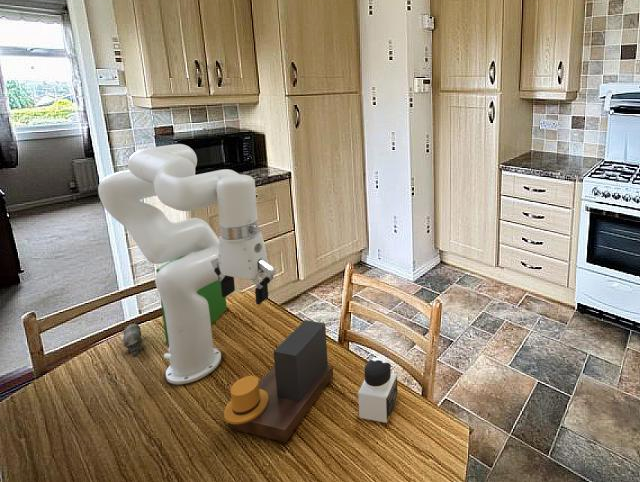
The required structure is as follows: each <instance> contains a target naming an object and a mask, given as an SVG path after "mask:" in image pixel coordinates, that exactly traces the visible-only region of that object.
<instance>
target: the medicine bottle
mask: <svg viewBox="0 0 640 482" xmlns="http://www.w3.org/2000/svg"><path fill="white" fill-rule="evenodd" d="M391 367H392V366H391V362H390V361H389V359H387V358H385V357H381V356H378V357H374V358H371V359H370V360H368V362H366V364H365V366H364V380H363V382H362V384H361V386H360V387H359V389H358V391H357V395H358V398H357V399H358V418H360V419H364V420H368V421H373V422H379V423H384V424H388V423H389V421H390V418H391V416H392V413H393V411H394V409H395V406H396V404H397V401H398V398H399V397H398V374H397V373H393V372H391V371H392V370H391V369H392V368H391Z"/></svg>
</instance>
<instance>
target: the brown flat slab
mask: <svg viewBox="0 0 640 482" xmlns="http://www.w3.org/2000/svg"><path fill="white" fill-rule="evenodd" d="M333 377H334V366H333V365H332V364H328V365H327V366H326V367H325V369H324V370H323V371H322V373H321V374H320V375H319V376H318V378H317V379H316V380H315V382H314V383H313V384H312V386H311V387H310V388H309V390H308V391H307V392H306V393H305V395H304V396H303V397H302V399H301V400H300V401H295V400H290V399H286V398H282V397H277V387H276V375H275V364H274V365H273V366H272V367H271V369H269V370H268V372H266V373H265V375H264V376H262V378H261V379H260V380H259V389H262V390H264V391H266V392H267V394H268V398H269V401H268V404H267V407H266V408H265V410H264V411H263V412H262V413H261V414H260V415H259V416H257V417H256V418H254V419H252V420H251V421H248V422H246V423H242V424H230V423H228V422H227V425H228V428H232V430H234V431H235V430H236V431H239V432H242V433H247V434H249V435H254V436H257V437H262V438H265V439H269V440H273V441H277V442H280V443H284V444H286V443H287V442H288V441H289V439H290V438H291V437H292V434H293V433H294V431H295V430H296V428H297V427H298V426H299V424H300V423H301V421H302V420H303V419H304V417H305V416H306V415H307V413H308V412H309V410H310V409H311V408H312V406H313V405H314V403H315V402H316V401H317V399H318V398H319V396H320V395H321V394H322V392H323V391H324V389H325V388H326V387H327V386H328V385H329V383H331V381H332V379H333Z"/></svg>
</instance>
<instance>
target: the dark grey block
mask: <svg viewBox="0 0 640 482" xmlns="http://www.w3.org/2000/svg"><path fill="white" fill-rule="evenodd" d="M327 345H328V344H327V331H326V323H324V322H319V321H314V320H307V319H304V320H303V321H302V322H301V323H300V324H299V325H298V326H297V327H296V328H295V329H294V330H293V331H292V332H291V333H290V334H289V335H288V336H287V337H286V338H285V339H284V340H283V341H282V342H281V343H280V344H279V345H278V346H277V347H276V348H275V349H274V350H273V361H274V362H273V363H274V365H275V375H276V387H277V397H282V398H286V399H290V400H295V401H300V400H301V399H302V397H303V396H304V395H305V393H306V392H307V391H308V390H309V388H310V387H311V386H312V384H313V383H314V382H315V380H316V379H317V378H318V376H319V375H320V374H321V373H322V371H323V370H324V369H325V367H326V366H327V365H329V364H328V363H329V362H328V361H329V360H328V348H327V347H328V346H327Z"/></svg>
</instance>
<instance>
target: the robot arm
mask: <svg viewBox="0 0 640 482" xmlns="http://www.w3.org/2000/svg"><path fill="white" fill-rule="evenodd" d="M197 164H198V157H197V154H196V152H195V151H194V149H193V148H191V147H190V146H189V145H186V144H183V143H176V144H175V143H174V144H168V145H160V146H153V147H145V148H143V149H138V150H137V151H136V152H134V153H133V154H131V155H130V157H129V159H128V161H127V168H128V169H127V170H123V171H119V172H114V173H112V174H110V175H107V176H106V177H104V178H103V179H102V180H100V182H99V184H98V188H97V192H98V193H97V194H98V197H99V199H100V202H101V204H102V206H103V208H104V209H105V210H106V211H107V213H108V214H109V215H110V216H111V217H112V218H113V219H115V220H116V221H117V222H118V223H120V224H121V226H123V227H124V228H125V229H126V230H127V231H128V233H129V235H130V236H131V238H132V240H133V241H134V242H135V244H136V246H137V247H138V249H139V250H140V251H141V253H142V255H143V256H144V257H145V259H146V260H147V261H149V263H151V264H154V265H159V264H166V263H167V262H169V261H171V260H173V259H176V258H179V257H181V256H184V255H186V254H189V253H192V252H195V253H193V254H190V255H188V256H185V257H183V258H180V259H178V260H175V261H173V262H171V263H169V264H167V265H165V266H164V267H162V268H161V269H160V270H159V271H158V273H157V272H156V274H155V277H154V282H155V286H156V289H157V292H158V294H159V298H160V297H161V299H160V301H161V300H162V303H163V307H164V312H165V319H166V325H167V333H168V340H169V344H168V346H169V347H168V349H167V352H166V353H164V355H163V359H165V360H168V361H169V366H168V367H167V368H166V371H165V378H166V381H167V382H168V383H170V384H172V385H185V384H190V383H193V382H196V381H198V380H201V379H203V378H205V377H206V376H208V375H209V374H211V373H212V372H213V371H214V370H216V368H217V367H218V366H219V365H220V363H221V361H222V352H221V351H220V350H219V349H218V348H216V347H214V339H213V331H212V324H211V322H210V313H209V305H208V302H207V300H206V299H205V298H204V297H203V296H201V295H199V294H197V291H198V290H199V289H201V288H203V287H205V286H207V285H209V284H211V283H213V282H215V281H217V280H219V281H221V292H222V297H226V298H227V296H229V295H232V294H233V293H234V292H235V291H236V287H235V278H237V279H242V280H249V281H252V282H253V283H254V286H256V288H255V289H254V295H255V304H256V305H261V304H262V303H263V302H264V301H266V300H268V298H269V285H268V284H269V283H271V281H273V279H274V276H275V274H276V273H277V272H276V271H277V269H276V268H274V266H272V265H270V264H269V262H268V254H267V247H266V244H265V241H264V237H263V234H262V233H261V227H260V226H259V220H258V205H257V192H256V191H257V190H256V181H255V179H254V178H253V176H251V175H249V174H240V173H238V172H237V171H235V170H233V169H229V168H228V169H227V168H226V169H225V168H224V169H218V170H213V171H209V172H208V171H207V172H204V173H198V174H196V167H197ZM155 196H157V199H158V200H159V201H160V202H161V203H162V204H163V205H165V206H167V207H168V208H171V209H174V210H176V211H179V212H193V211H196V210H200V209H204V208H207V207H209V206H213V205H217V210H218V220H219V231H220V235H219V237H218V235H217V234H216V232H215V230H214V229H213V228H212V227H211V225H210V224H209V223H208V222H207V221H205V220H204V219H202V218H199V217H190V218H186V219H183V220H180V221H176V222H172V221H170V220H169V219H168V218H167V216H166V214H165V213H164V212H163V211H162V210H161V209H160V208H158V207H157V206H154V205H152V204H149V203H147V202H144V201H140V200H143V199H148V198H152V197H155ZM259 277H260V279H261V280H260V279H259Z"/></svg>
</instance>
